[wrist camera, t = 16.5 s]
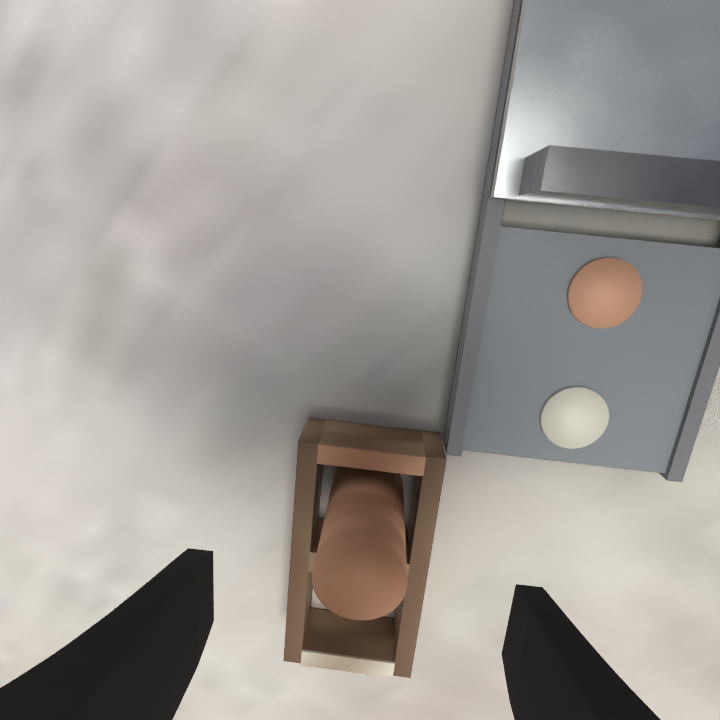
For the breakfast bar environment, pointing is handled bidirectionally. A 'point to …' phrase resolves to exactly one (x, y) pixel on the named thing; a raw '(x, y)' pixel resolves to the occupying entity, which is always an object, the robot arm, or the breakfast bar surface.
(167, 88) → the breakfast bar surface
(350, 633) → the socket board
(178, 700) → the robot arm
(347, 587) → the peg
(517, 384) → the pattern board
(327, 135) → the breakfast bar surface
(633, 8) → the cover
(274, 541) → the breakfast bar surface
